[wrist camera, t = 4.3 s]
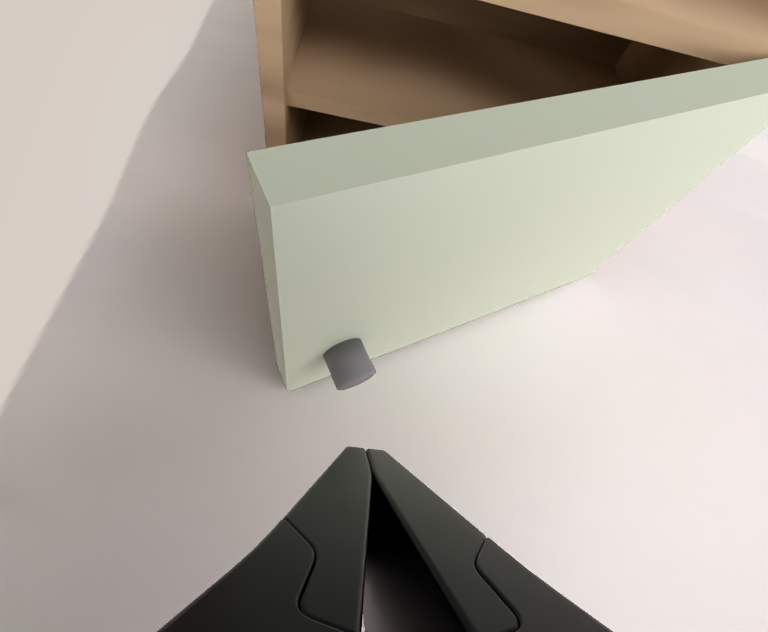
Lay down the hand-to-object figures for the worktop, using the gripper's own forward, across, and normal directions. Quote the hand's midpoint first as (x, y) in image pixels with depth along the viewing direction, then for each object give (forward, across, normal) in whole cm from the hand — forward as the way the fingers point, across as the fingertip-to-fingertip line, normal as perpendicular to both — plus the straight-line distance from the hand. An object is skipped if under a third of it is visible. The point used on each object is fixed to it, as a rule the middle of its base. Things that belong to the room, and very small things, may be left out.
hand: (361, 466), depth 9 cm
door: (+10, +5, 0) cm, 11 cm away
